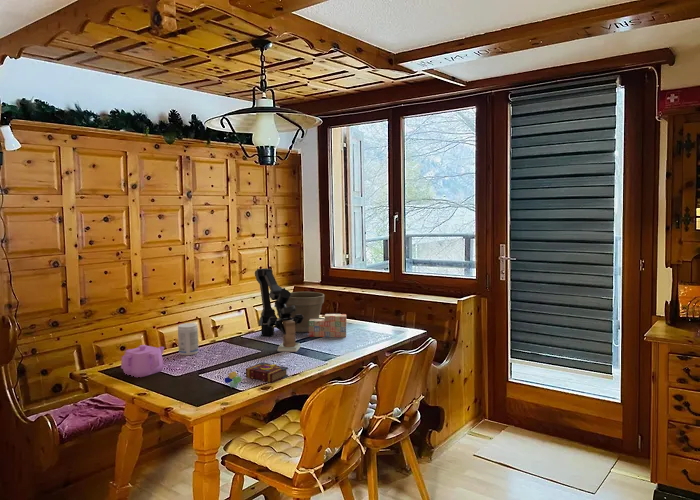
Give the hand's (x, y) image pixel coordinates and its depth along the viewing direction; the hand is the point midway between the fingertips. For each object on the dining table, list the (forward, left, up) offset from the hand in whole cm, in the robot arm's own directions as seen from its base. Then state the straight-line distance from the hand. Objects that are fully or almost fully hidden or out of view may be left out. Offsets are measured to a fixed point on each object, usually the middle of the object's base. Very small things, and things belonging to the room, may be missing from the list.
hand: (289, 333), depth 281 cm
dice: (-11, -59, -9) cm, 61 cm away
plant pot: (-2, +45, -9) cm, 46 cm away
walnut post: (-1, +1, -7) cm, 7 cm away
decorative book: (-1, -45, -9) cm, 46 cm away
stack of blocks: (+15, +32, -9) cm, 36 cm away
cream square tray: (-1, +1, -8) cm, 8 cm away
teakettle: (-58, -44, -9) cm, 73 cm away
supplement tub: (-50, -13, -9) cm, 52 cm away
